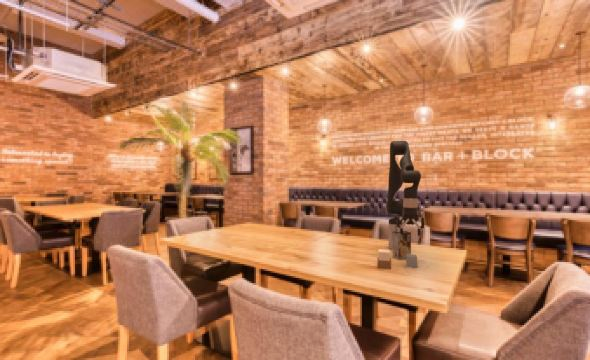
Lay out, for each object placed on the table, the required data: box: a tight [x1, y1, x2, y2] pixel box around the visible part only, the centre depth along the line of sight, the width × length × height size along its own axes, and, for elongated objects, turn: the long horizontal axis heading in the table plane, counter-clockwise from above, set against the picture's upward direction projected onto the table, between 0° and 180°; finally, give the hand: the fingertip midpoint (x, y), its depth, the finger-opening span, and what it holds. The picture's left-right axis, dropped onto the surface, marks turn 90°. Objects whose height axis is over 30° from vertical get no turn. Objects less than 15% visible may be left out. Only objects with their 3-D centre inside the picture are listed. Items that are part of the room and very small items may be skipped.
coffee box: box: [391, 230, 412, 261], centre depth 180 cm, size 9×6×16 cm
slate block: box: [405, 253, 418, 269], centre depth 164 cm, size 5×5×6 cm
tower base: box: [377, 257, 392, 270], centre depth 163 cm, size 7×7×4 cm
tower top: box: [377, 248, 391, 261], centre depth 163 cm, size 6×6×4 cm
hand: (410, 235), depth 164 cm, fingers open, 8 cm apart
